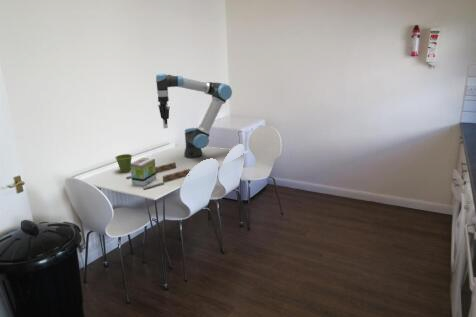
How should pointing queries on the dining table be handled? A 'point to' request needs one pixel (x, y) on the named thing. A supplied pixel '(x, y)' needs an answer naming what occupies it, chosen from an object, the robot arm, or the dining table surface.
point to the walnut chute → (173, 175)
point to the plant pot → (124, 162)
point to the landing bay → (148, 186)
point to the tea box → (143, 171)
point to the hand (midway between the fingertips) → (165, 127)
